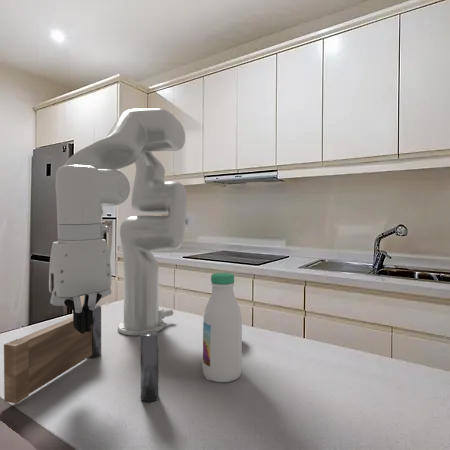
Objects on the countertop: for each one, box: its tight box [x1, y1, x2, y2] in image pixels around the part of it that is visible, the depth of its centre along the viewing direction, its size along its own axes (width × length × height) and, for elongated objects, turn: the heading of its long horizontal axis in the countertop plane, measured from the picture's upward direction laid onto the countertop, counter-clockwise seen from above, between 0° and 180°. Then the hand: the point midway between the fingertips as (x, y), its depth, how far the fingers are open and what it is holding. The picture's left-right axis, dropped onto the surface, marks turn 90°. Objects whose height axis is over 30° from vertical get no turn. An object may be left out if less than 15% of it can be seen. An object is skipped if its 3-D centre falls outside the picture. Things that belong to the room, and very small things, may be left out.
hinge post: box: [87, 304, 102, 359], centre depth 73 cm, size 3×3×11 cm
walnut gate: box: [3, 316, 92, 405], centre depth 62 cm, size 2×19×9 cm, turn 165°
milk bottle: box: [202, 272, 243, 383], centre depth 64 cm, size 8×8×20 cm
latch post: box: [140, 331, 159, 403], centre depth 56 cm, size 3×3×11 cm
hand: (83, 330), depth 61 cm, fingers closed
